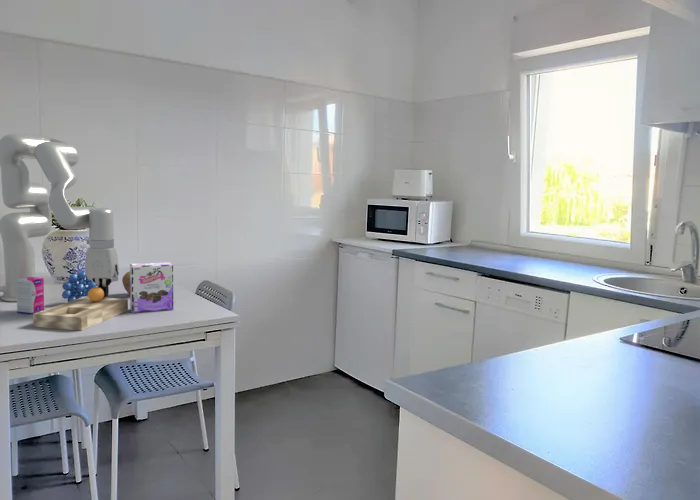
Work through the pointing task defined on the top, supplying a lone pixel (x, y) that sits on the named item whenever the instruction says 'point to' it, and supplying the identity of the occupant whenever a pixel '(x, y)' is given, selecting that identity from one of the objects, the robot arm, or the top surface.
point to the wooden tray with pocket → (80, 313)
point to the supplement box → (30, 295)
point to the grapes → (77, 286)
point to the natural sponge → (126, 281)
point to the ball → (95, 294)
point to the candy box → (151, 287)
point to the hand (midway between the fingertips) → (103, 297)
